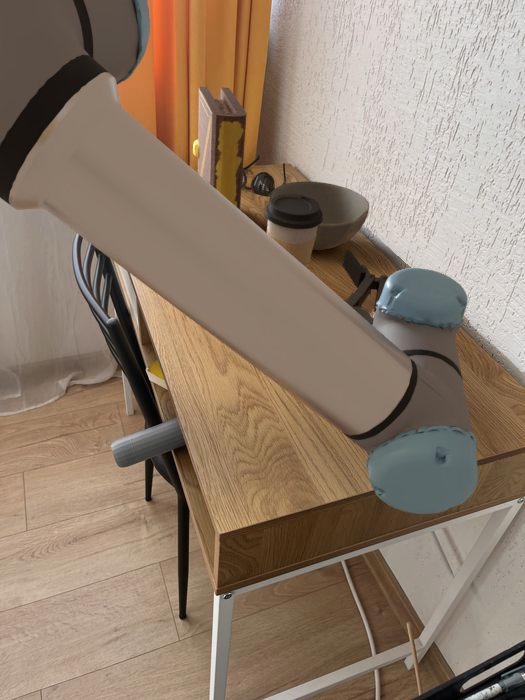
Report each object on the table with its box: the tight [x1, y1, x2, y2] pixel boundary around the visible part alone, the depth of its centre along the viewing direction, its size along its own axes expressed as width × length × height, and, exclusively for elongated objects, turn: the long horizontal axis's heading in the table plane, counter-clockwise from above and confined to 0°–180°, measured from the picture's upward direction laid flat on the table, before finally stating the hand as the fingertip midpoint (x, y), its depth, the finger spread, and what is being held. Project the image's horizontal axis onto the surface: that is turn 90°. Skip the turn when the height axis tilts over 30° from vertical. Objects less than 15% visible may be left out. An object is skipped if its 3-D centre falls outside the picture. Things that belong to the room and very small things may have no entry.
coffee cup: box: [263, 194, 323, 268], centre depth 88 cm, size 9×9×15 cm
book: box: [192, 86, 248, 211], centre depth 110 cm, size 22×8×25 cm, turn 13°
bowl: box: [268, 180, 370, 251], centre depth 110 cm, size 20×20×10 cm
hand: (304, 259), depth 79 cm, fingers open, 13 cm apart
